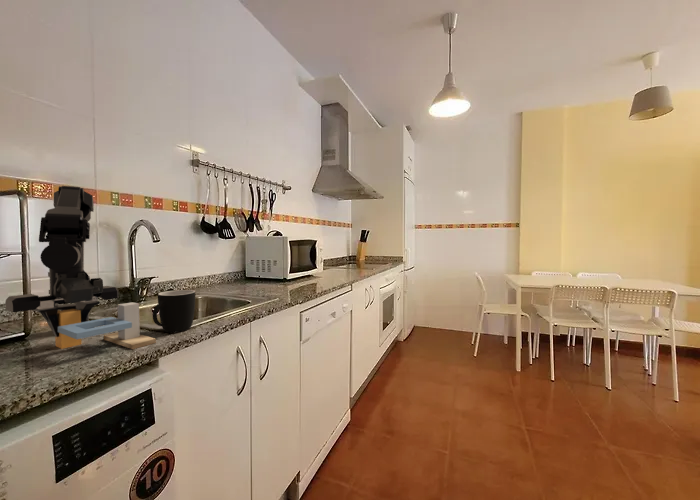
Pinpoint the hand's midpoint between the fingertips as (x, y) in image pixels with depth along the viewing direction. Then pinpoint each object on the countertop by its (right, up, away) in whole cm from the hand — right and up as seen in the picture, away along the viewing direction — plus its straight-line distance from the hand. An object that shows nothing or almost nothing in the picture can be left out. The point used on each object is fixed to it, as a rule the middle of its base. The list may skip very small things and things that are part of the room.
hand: (68, 334), depth 73 cm
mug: (+18, -2, +12) cm, 21 cm away
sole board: (+12, -2, +3) cm, 13 cm away
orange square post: (0, -3, 0) cm, 2 cm away
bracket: (+10, -2, -1) cm, 10 cm away
